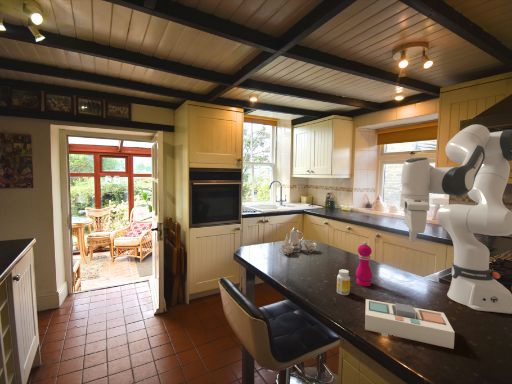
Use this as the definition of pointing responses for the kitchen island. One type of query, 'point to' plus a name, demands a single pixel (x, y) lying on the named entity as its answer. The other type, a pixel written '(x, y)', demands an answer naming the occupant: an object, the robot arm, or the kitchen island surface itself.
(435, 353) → the kitchen island surface
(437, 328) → the three-slot colour tray
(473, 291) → the robot arm
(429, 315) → the terracotta key
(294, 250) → the chinaware
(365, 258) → the pepper mill
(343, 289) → the supplement bottle
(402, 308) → the slate key
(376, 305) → the teal key
